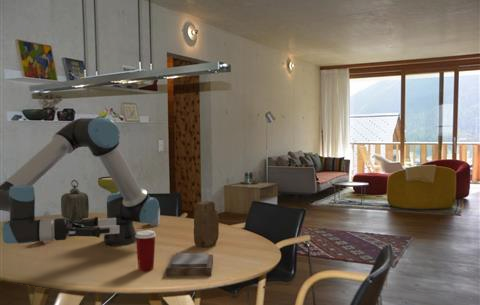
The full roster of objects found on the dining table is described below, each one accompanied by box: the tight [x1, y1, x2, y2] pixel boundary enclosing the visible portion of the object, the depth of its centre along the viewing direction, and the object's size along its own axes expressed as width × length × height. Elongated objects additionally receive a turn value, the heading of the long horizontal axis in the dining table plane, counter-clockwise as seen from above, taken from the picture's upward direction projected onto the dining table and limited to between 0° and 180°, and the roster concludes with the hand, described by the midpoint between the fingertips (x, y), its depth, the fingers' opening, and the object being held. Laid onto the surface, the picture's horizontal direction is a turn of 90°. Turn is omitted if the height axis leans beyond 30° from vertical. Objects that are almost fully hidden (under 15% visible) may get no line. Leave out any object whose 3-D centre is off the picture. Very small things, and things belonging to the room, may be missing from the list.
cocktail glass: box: [97, 175, 120, 194], centre depth 240 cm, size 18×18×25 cm
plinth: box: [165, 252, 214, 277], centre depth 157 cm, size 16×16×4 cm
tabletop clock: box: [60, 179, 90, 221], centre depth 229 cm, size 14×9×25 cm, turn 49°
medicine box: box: [149, 207, 161, 227], centre depth 231 cm, size 8×4×9 cm, turn 5°
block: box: [193, 200, 220, 248], centre depth 190 cm, size 11×8×20 cm
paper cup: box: [135, 230, 157, 273], centre depth 157 cm, size 8×8×14 cm
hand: (117, 225), depth 152 cm, fingers open, 13 cm apart
